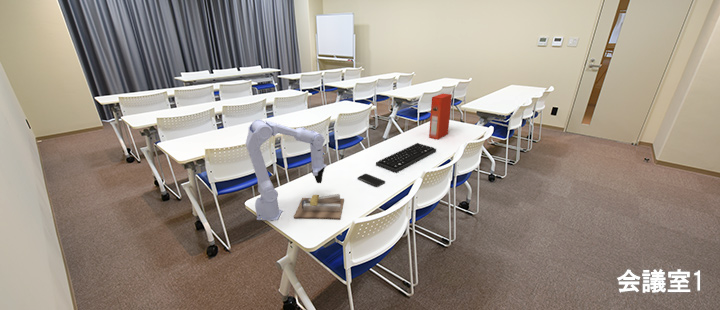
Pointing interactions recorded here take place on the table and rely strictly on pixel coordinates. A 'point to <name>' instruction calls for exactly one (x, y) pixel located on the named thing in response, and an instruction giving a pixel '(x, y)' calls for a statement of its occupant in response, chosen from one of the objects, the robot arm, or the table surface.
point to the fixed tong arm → (321, 207)
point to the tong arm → (328, 199)
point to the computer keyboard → (405, 157)
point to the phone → (371, 180)
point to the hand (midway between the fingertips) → (319, 182)
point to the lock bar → (314, 200)
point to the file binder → (440, 116)
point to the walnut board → (318, 212)
